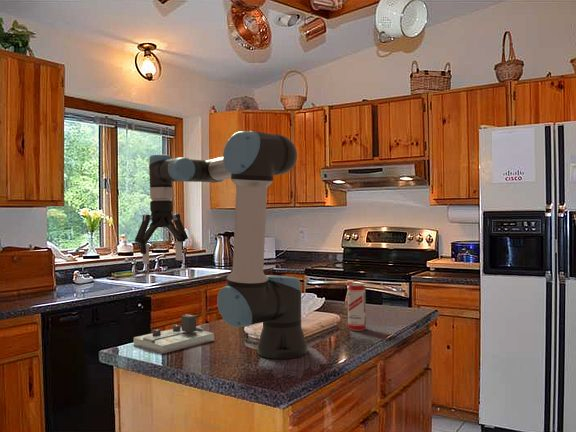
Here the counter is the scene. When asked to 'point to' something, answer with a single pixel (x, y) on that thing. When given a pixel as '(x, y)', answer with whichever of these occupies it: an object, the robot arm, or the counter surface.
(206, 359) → the counter surface
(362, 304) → the beer can
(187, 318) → the fader tab
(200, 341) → the console
